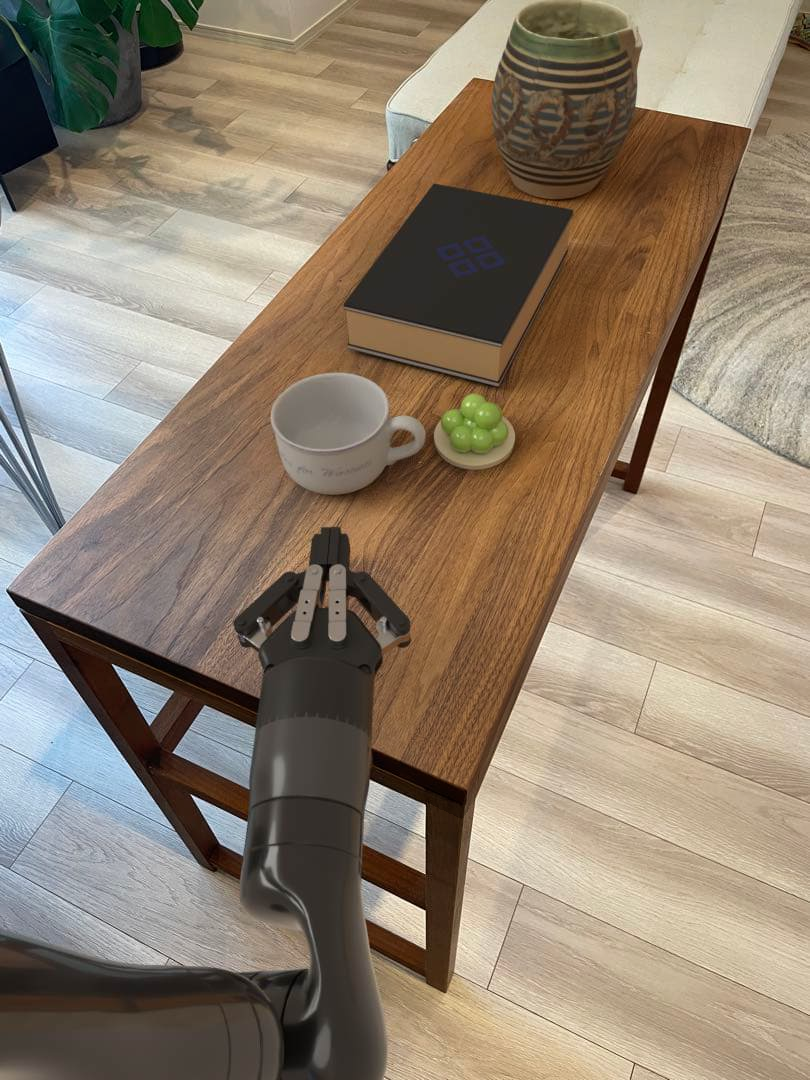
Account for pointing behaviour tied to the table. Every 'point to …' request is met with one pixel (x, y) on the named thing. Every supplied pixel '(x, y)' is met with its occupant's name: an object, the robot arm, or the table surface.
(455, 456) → the grapes
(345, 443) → the teacup
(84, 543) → the table surface
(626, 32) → the pottery
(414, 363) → the book
